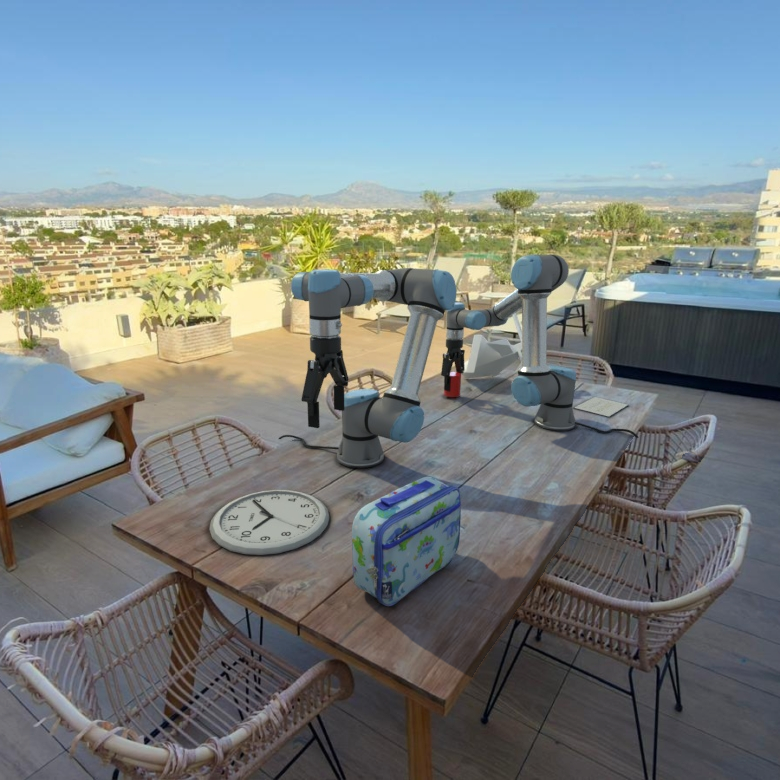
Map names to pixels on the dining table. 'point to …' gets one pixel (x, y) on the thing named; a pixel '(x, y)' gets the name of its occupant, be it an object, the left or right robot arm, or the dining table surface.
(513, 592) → the dining table surface
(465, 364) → the white plastic object
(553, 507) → the dining table surface
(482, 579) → the dining table surface
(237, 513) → the wall clock
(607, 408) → the invitation card
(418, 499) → the lunch box
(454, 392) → the tin
